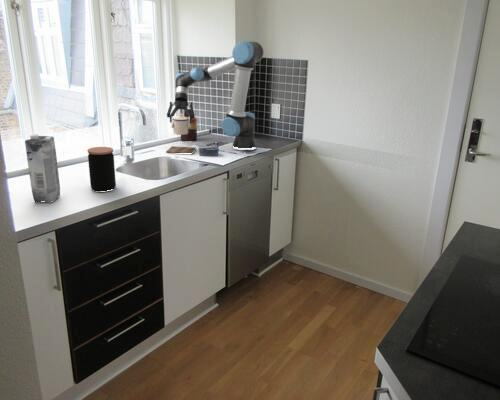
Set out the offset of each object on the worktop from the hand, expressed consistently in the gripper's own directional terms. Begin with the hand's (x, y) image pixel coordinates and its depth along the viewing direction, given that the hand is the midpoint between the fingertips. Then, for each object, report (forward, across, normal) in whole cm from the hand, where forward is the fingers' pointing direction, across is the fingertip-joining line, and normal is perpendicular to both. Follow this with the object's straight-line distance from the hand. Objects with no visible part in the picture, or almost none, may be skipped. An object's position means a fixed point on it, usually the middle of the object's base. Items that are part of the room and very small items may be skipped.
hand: (180, 126), depth 256 cm
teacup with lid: (+1, +1, -5) cm, 5 cm away
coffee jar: (+59, +32, +37) cm, 76 cm away
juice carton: (+69, +51, +46) cm, 97 cm away
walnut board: (+9, 0, -13) cm, 16 cm away
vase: (-13, -4, -36) cm, 38 cm away
